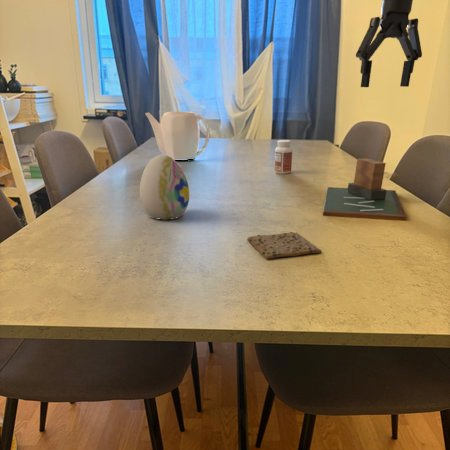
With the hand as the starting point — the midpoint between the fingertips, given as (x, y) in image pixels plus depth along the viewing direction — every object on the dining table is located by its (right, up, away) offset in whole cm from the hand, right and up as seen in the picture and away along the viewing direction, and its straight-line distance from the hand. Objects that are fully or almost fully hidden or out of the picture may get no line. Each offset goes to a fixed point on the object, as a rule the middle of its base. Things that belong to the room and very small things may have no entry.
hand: (384, 87), depth 122 cm
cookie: (-33, -49, -32) cm, 68 cm away
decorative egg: (-60, -39, -12) cm, 73 cm away
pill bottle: (-24, -13, +37) cm, 46 cm away
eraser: (-5, -30, +2) cm, 31 cm away
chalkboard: (-7, -34, -3) cm, 35 cm away
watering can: (-65, 0, +64) cm, 91 cm away
